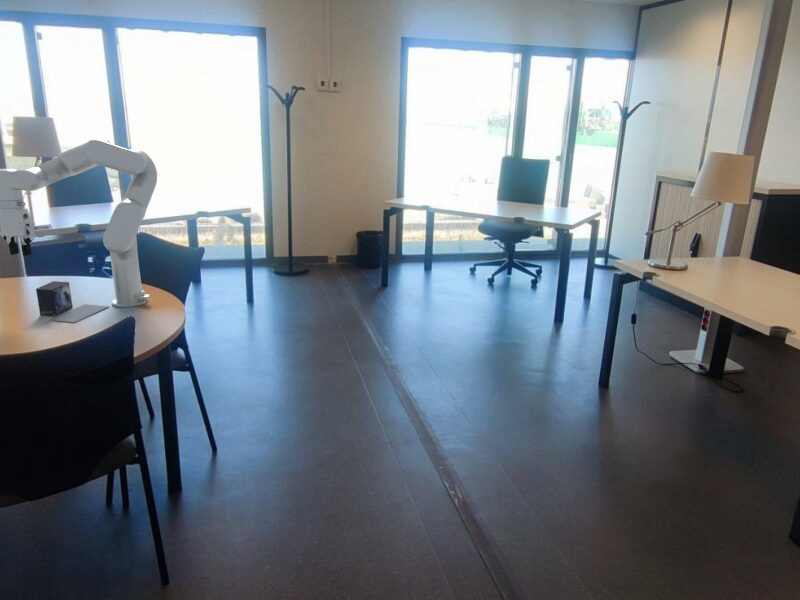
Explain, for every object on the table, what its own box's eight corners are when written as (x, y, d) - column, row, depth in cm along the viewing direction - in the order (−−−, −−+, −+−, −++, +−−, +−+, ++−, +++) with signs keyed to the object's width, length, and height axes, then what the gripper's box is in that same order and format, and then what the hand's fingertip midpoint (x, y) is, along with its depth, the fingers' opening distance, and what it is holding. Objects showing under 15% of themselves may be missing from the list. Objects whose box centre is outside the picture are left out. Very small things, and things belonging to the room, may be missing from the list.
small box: (57, 316, 200) (52, 289, 197) (39, 316, 200) (34, 288, 197) (74, 307, 210) (69, 281, 207) (57, 307, 210) (52, 280, 207)
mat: (109, 307, 211) (109, 306, 211) (74, 323, 194) (74, 322, 194) (85, 305, 213) (85, 304, 213) (48, 320, 196) (48, 319, 196)
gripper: (40, 204, 197) (49, 253, 203) (0, 202, 200) (10, 250, 205) (23, 207, 190) (33, 258, 195) (-19, 204, 193) (-8, 255, 198)
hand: (21, 254), depth 200 cm, fingers open, 4 cm apart
